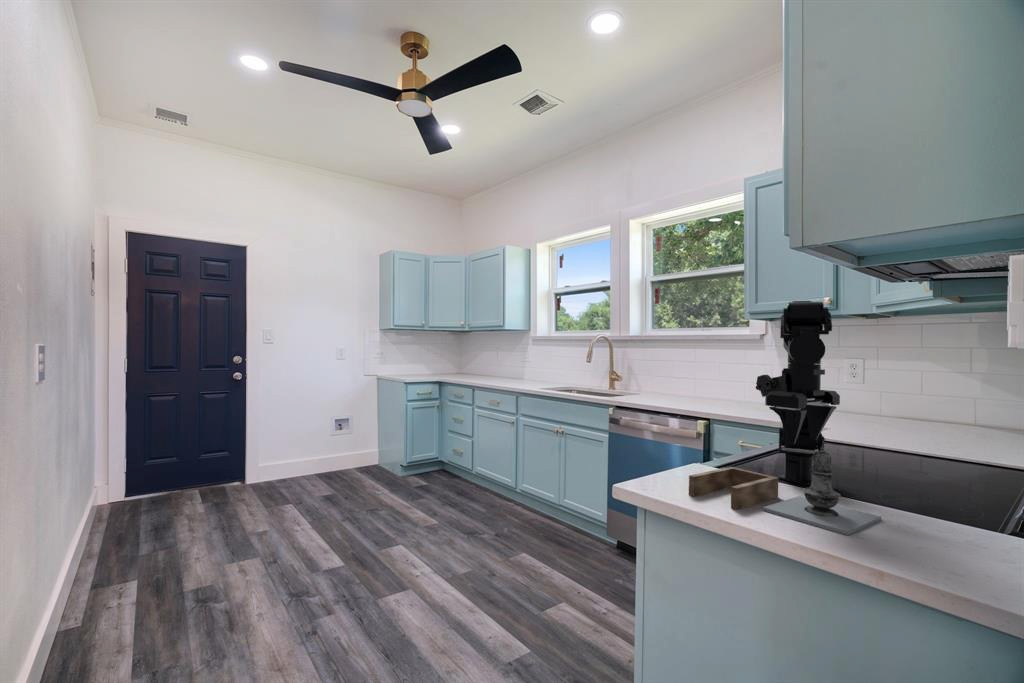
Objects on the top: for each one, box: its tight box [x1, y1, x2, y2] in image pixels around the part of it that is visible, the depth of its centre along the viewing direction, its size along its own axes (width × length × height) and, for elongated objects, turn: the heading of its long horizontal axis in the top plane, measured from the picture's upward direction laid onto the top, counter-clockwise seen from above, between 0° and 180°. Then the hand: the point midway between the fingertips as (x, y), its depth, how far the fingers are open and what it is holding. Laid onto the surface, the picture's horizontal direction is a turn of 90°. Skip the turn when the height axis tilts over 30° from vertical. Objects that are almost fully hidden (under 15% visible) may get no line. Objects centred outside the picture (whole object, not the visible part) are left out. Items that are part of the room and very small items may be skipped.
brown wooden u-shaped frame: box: [688, 466, 779, 511], centre depth 98 cm, size 15×10×4 cm
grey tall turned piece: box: [802, 447, 841, 517], centre depth 88 cm, size 6×6×12 cm
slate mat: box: [762, 495, 883, 536], centre depth 88 cm, size 14×14×1 cm
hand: (802, 441), depth 96 cm, fingers open, 9 cm apart
